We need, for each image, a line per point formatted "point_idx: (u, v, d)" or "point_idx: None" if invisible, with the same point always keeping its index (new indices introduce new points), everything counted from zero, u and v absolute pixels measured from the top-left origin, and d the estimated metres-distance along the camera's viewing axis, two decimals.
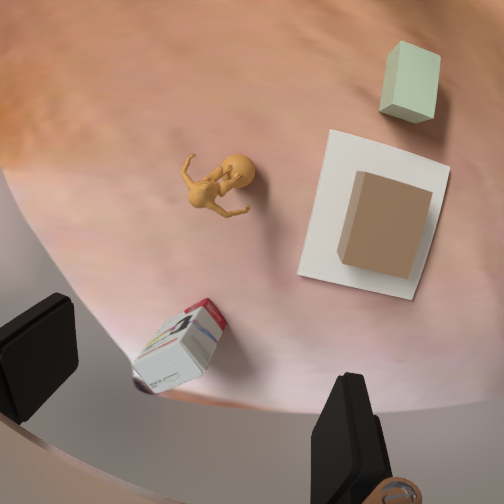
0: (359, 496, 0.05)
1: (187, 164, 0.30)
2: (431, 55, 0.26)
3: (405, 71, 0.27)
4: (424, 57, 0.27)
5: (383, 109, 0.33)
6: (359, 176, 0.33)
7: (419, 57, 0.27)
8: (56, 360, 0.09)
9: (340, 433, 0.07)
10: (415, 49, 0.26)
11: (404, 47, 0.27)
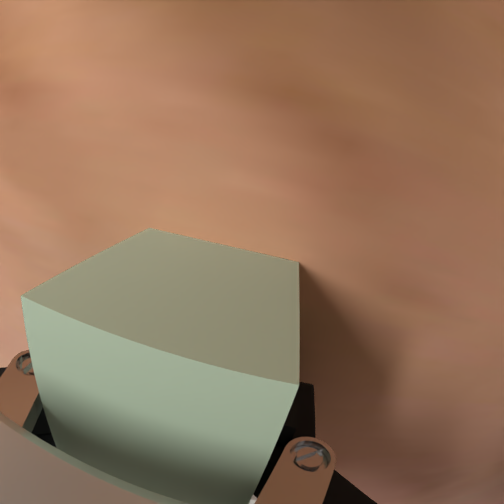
0: (276, 452, 0.06)
1: None
2: (214, 390, 0.05)
3: (79, 444, 0.06)
4: (161, 401, 0.05)
5: None
6: None
7: (129, 400, 0.05)
8: None
9: None
10: (98, 353, 0.05)
11: (43, 340, 0.05)
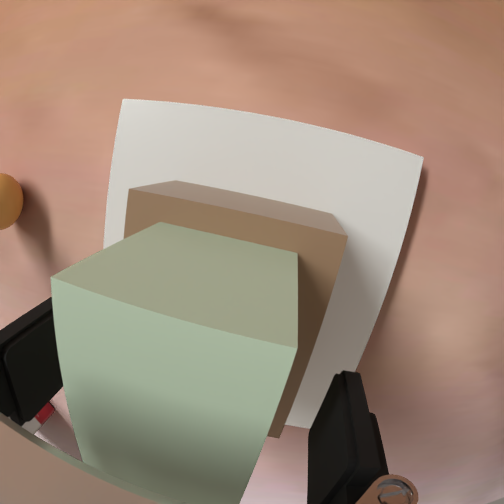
0: (355, 493, 0.05)
1: None
2: (225, 354, 0.05)
3: (95, 418, 0.07)
4: (178, 368, 0.06)
5: None
6: None
7: (147, 369, 0.06)
8: None
9: (336, 430, 0.07)
10: (122, 325, 0.06)
11: (70, 316, 0.06)
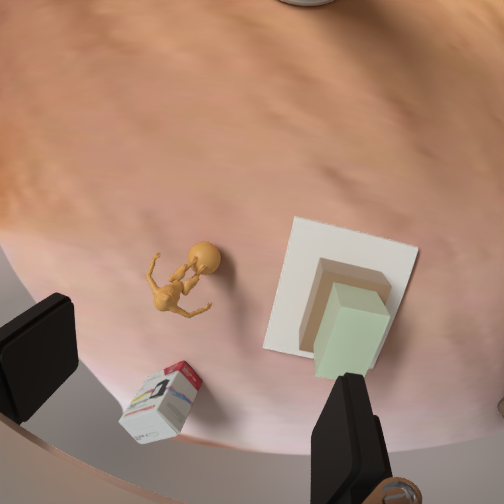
0: (359, 496, 0.05)
1: (152, 267, 0.33)
2: (377, 318, 0.28)
3: (337, 343, 0.29)
4: (367, 322, 0.28)
5: (314, 354, 0.34)
6: (319, 268, 0.36)
7: (360, 324, 0.28)
8: (56, 360, 0.09)
9: (340, 433, 0.07)
10: (357, 315, 0.28)
11: (343, 314, 0.28)
